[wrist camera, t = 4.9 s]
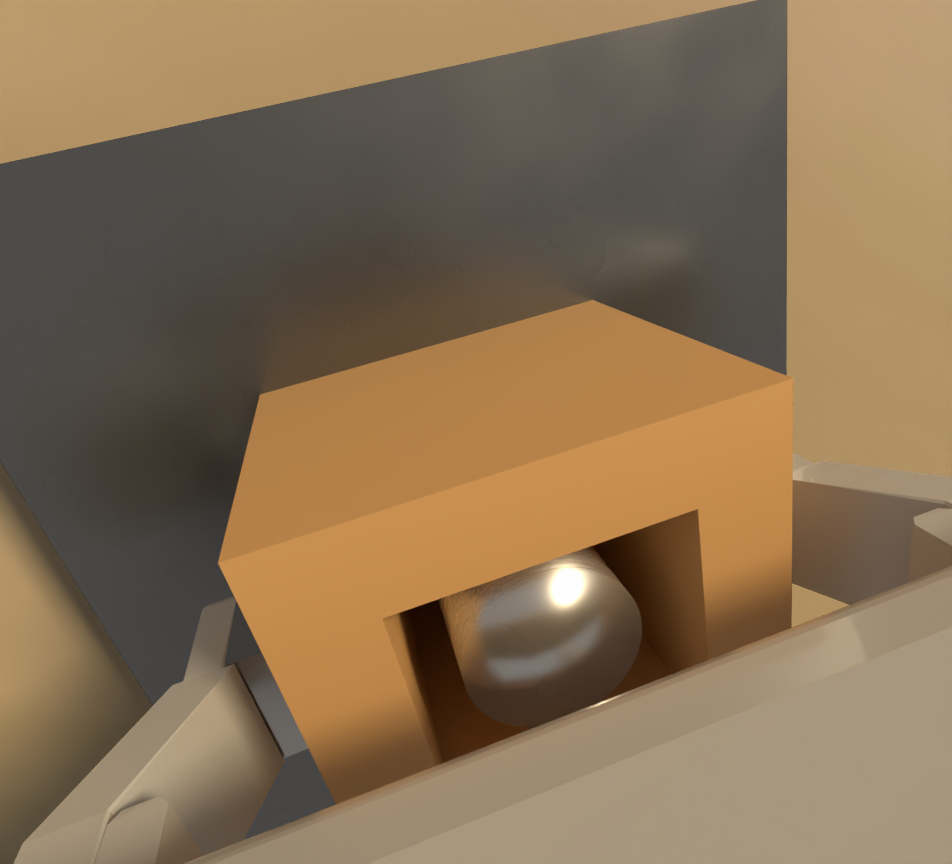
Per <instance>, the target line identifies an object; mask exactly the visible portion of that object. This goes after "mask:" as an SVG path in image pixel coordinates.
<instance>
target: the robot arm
mask: <svg viewBox="0 0 952 864" xmlns="http://www.w3.org/2000/svg"><path fill="white" fill-rule="evenodd" d="M792 583H793V584H796V585H799V586H801V587H804V588H807V589H809V590H812V591H815V592H817V593H820V594H822V595H825V596H828V597H830V598H833V599H836V600H838V601H841V602H844V603H846V604H849V606H846V607H844V608H841V609H839V610H836V611H834V612H831V613H828V614H826V615H823V616H821V617H818V618H815V619H813V620H810V621H808V622H805V623H803V624H800V625H797V626H795V627H792V628H790V629H787V630H784V631H782V632H779V633H777V634H774V635H772V636H769V637H766V638H764V639H761V640H759V641H756V642H753V643H751V644H748V645H746V646H743V647H741V648H738V649H735V650H733V651H730V652H728V653H725V654H722V655H720V656H717V657H715V658H712V659H710V660H707V661H704V662H702V663H699V664H697V665H694V666H692V667H689V668H686V669H684V670H681V671H679V672H676V673H674V674H671V675H668V676H666V677H663V678H661V679H658V680H656V681H653V682H650V683H648V684H645V685H643V686H640V687H638V688H635V689H633V690H630V691H627V692H625V693H622V694H620V695H617V696H615V697H612V698H609V699H607V700H604V701H602V702H599V703H597V704H594V705H591V706H589V707H586V708H584V709H581V710H579V711H576V712H574V713H571V714H568V715H566V716H563V717H561V718H558V719H555V720H553V721H550V722H548V723H545V724H543V725H540V726H537V727H535V728H532V729H530V730H527V731H524V732H522V733H519V734H517V735H514V736H512V737H509V738H506V739H504V740H501V741H499V742H496V743H494V744H491V745H488V746H486V747H483V748H481V749H478V750H475V751H473V752H470V753H468V754H465V755H463V756H460V757H457V758H455V759H452V760H450V761H447V762H444V763H442V764H439V765H437V766H434V767H432V768H429V769H426V770H424V771H421V772H419V773H416V774H413V775H411V776H408V777H406V778H403V779H401V780H398V781H395V782H393V783H390V784H388V785H385V786H383V787H380V788H377V789H375V790H372V791H370V792H367V793H364V794H362V795H359V796H357V797H354V798H352V799H349V800H346V801H344V802H341V803H339V804H336V805H333V806H331V807H328V808H326V809H323V810H321V811H318V812H315V813H313V814H310V815H308V816H305V817H303V818H300V819H297V820H295V821H292V822H290V823H287V824H284V825H282V826H279V827H277V828H274V829H272V830H269V831H266V832H264V833H261V834H259V835H256V836H253V837H251V838H248V839H246V840H244V838H245V837H246V835H247V833H248V831H249V829H250V827H251V825H252V823H253V821H254V819H255V817H256V816H257V814H258V812H259V810H260V808H261V806H262V804H263V802H264V800H265V798H266V796H267V794H268V793H269V791H270V789H271V787H272V785H273V783H274V781H275V779H276V777H277V775H278V773H279V772H280V770H281V768H282V766H283V764H284V762H285V761H284V759H283V758H286V757H288V756H291V755H293V754H296V753H298V752H301V751H303V750H306V749H308V746H307V744H306V742H305V740H304V738H303V736H302V734H301V732H300V730H299V728H298V726H297V724H296V722H295V720H294V717H293V715H292V713H291V711H290V709H289V707H288V705H287V703H286V701H285V699H284V697H283V695H282V693H281V691H280V689H279V687H278V685H277V683H276V681H275V679H274V677H273V675H272V673H271V670H270V668H269V666H268V664H267V662H266V660H265V658H264V656H263V654H262V652H261V650H260V648H259V646H258V644H257V642H256V640H255V638H254V636H253V634H252V632H251V630H250V628H249V626H248V623H247V621H246V619H245V617H244V615H243V613H242V611H241V609H240V607H239V605H238V603H237V601H236V599H235V597H234V596H232V597H229V598H226V599H223V600H220V601H217V602H214V603H212V604H209V605H207V606H206V607H204V608H203V610H202V612H201V616H200V620H199V623H198V627H197V631H196V635H195V638H194V642H193V646H192V650H191V653H190V657H189V661H188V665H187V668H186V672H185V676H184V680H183V682H180V683H177V684H174V685H172V686H171V687H170V688H169V689H168V690H167V691H166V692H165V694H164V695H163V696H162V697H161V698H160V699H159V700H158V701H157V702H156V703H155V704H154V705H153V706H152V707H151V708H150V709H149V710H148V712H147V713H146V714H145V715H144V716H143V717H142V718H141V719H140V720H139V721H138V722H137V723H136V724H135V725H134V726H133V727H132V728H131V729H130V731H129V732H128V733H127V734H126V735H125V736H124V737H123V738H122V739H121V740H120V741H119V742H118V743H117V744H116V745H115V746H114V747H113V748H112V750H111V751H110V752H109V753H108V754H107V755H106V756H105V757H104V758H103V759H102V760H101V761H100V762H99V763H98V764H97V765H96V766H95V767H94V769H93V770H92V771H91V772H90V773H89V774H88V775H87V776H86V777H85V778H84V779H83V780H82V781H81V782H80V783H79V784H78V785H77V786H76V788H75V789H74V790H73V791H72V792H71V793H70V794H69V795H68V796H67V797H66V798H65V799H64V800H63V801H62V802H61V803H60V804H59V806H58V807H57V808H56V809H55V810H54V811H53V812H52V813H51V814H50V815H49V816H48V817H47V818H46V819H45V820H44V821H43V822H42V823H41V825H40V826H39V827H38V828H37V829H36V830H35V831H34V832H33V833H32V834H31V835H30V836H29V837H28V838H27V839H26V840H25V841H24V842H23V844H22V846H21V848H20V850H19V852H18V855H17V857H16V859H15V861H14V864H952V477H950V476H942V475H934V474H926V473H918V472H910V471H902V470H894V469H886V468H878V467H870V466H862V465H854V464H846V463H838V462H830V461H820V462H817V463H812V462H810V461H809V460H807V459H805V458H803V457H801V456H799V455H797V454H796V453H794V452H793V490H792Z"/></svg>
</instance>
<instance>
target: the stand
mask: <svg viewBox="0 0 952 864" xmlns="http://www.w3.org/2000/svg"><path fill="white" fill-rule="evenodd" d="M591 300H594V301H596V302H599V303H602V304H604V305H607V306H609V307H612V308H614V309H617V310H620V311H622V312H625V313H627V314H630V315H632V316H635V317H637V318H640V319H643V320H645V321H648V322H650V323H653V324H655V325H658V326H661V327H663V328H666V329H668V330H671V331H673V332H676V333H678V334H681V335H684V336H686V337H689V338H691V339H694V340H696V341H699V342H702V343H704V344H707V345H709V346H712V347H714V348H717V349H719V350H722V351H725V352H727V353H730V354H732V355H735V356H737V357H740V358H742V359H745V360H748V361H750V362H753V363H755V364H758V365H760V366H763V367H766V368H768V369H771V370H773V371H776V372H778V373H781V374H783V375H786V301H787V0H757V1H752V2H747V3H743V4H738V5H734V6H729V7H724V8H720V9H715V10H710V11H706V12H701V13H697V14H692V15H687V16H683V17H678V18H673V19H669V20H664V21H660V22H655V23H650V24H646V25H641V26H636V27H632V28H627V29H623V30H618V31H613V32H609V33H604V34H599V35H595V36H590V37H586V38H581V39H576V40H572V41H567V42H562V43H558V44H553V45H549V46H544V47H539V48H535V49H530V50H525V51H521V52H516V53H512V54H507V55H502V56H498V57H493V58H488V59H484V60H479V61H475V62H470V63H465V64H461V65H456V66H451V67H447V68H442V69H438V70H433V71H428V72H424V73H419V74H414V75H410V76H405V77H401V78H396V79H391V80H387V81H382V82H377V83H373V84H368V85H364V86H359V87H354V88H350V89H345V90H340V91H336V92H331V93H327V94H322V95H317V96H313V97H308V98H303V99H299V100H294V101H290V102H285V103H280V104H276V105H271V106H266V107H262V108H257V109H253V110H248V111H243V112H239V113H234V114H229V115H225V116H220V117H216V118H211V119H206V120H202V121H197V122H192V123H188V124H183V125H179V126H174V127H169V128H165V129H160V130H155V131H151V132H146V133H142V134H137V135H132V136H128V137H123V138H118V139H114V140H109V141H105V142H100V143H95V144H91V145H86V146H81V147H77V148H72V149H68V150H63V151H58V152H54V153H49V154H44V155H40V156H35V157H31V158H26V159H21V160H17V161H12V162H7V163H3V164H0V461H1V463H2V465H3V466H4V468H5V469H6V471H7V473H8V474H9V476H10V477H11V479H12V481H13V482H14V484H15V485H16V487H17V489H18V490H19V492H20V493H21V495H22V497H23V498H24V500H25V501H26V503H27V505H28V506H29V508H30V510H31V511H32V513H33V514H34V516H35V518H36V519H37V521H38V522H39V524H40V526H41V527H42V529H43V530H44V532H45V534H46V535H47V537H48V538H49V540H50V542H51V543H52V545H53V546H54V548H55V550H56V551H57V553H58V554H59V556H60V558H61V559H62V561H63V563H64V564H65V566H66V567H67V569H68V571H69V572H70V574H71V575H72V577H73V579H74V580H75V582H76V583H77V585H78V587H79V588H80V590H81V591H82V593H83V595H84V596H85V598H86V599H87V601H88V603H89V604H90V606H91V607H92V609H93V611H94V612H95V614H96V616H97V617H98V619H99V620H100V622H101V624H102V625H103V627H104V628H105V630H106V632H107V633H108V635H109V636H110V638H111V640H112V641H113V643H114V644H115V646H116V648H117V649H118V651H119V652H120V654H121V656H122V657H123V659H124V660H125V662H126V664H127V665H128V667H129V668H130V670H131V672H132V673H133V675H134V677H135V678H136V680H137V681H138V683H139V685H140V686H141V688H142V689H143V691H144V693H145V694H146V696H147V697H148V699H149V701H150V702H151V704H152V705H154V704H155V703H156V702H157V701H158V700H159V699H160V698H161V697H162V696H163V695H164V694H165V692H166V691H167V690H168V689H169V688H170V687H171V686H172V685H174V684H177V683H180V682H183V680H184V676H185V672H186V668H187V665H188V661H189V657H190V653H191V650H192V646H193V642H194V638H195V635H196V631H197V627H198V623H199V620H200V616H201V612H202V610H203V608H204V607H206V606H207V605H209V604H212V603H214V602H217V601H220V600H223V599H226V598H229V597H232V596H234V595H233V593H232V591H231V589H230V587H229V585H228V583H227V581H226V579H225V576H224V574H223V572H222V570H221V568H220V566H219V564H218V561H219V557H220V553H221V549H222V545H223V541H224V537H225V533H226V529H227V525H228V521H229V517H230V513H231V509H232V505H233V501H234V497H235V493H236V489H237V485H238V481H239V477H240V473H241V469H242V465H243V460H244V456H245V452H246V448H247V444H248V440H249V436H250V432H251V428H252V424H253V420H254V416H255V412H256V408H257V404H258V400H259V396H260V394H264V393H267V392H271V391H274V390H278V389H281V388H285V387H288V386H292V385H295V384H299V383H303V382H306V381H310V380H313V379H317V378H320V377H324V376H327V375H331V374H334V373H338V372H341V371H345V370H348V369H352V368H355V367H359V366H362V365H366V364H369V363H373V362H376V361H380V360H383V359H387V358H390V357H394V356H398V355H401V354H405V353H408V352H412V351H415V350H419V349H422V348H426V347H429V346H433V345H436V344H440V343H443V342H447V341H450V340H454V339H457V338H461V337H464V336H468V335H471V334H475V333H478V332H482V331H485V330H489V329H493V328H496V327H500V326H503V325H507V324H510V323H514V322H517V321H521V320H524V319H528V318H531V317H535V316H538V315H542V314H545V313H549V312H552V311H556V310H559V309H563V308H566V307H570V306H573V305H577V304H580V303H584V302H588V301H591ZM438 601H439V604H440V608H441V611H442V614H443V617H444V621H445V624H446V627H447V630H448V633H449V637H450V640H451V643H452V646H453V650H454V653H455V656H456V659H457V662H458V666H459V669H460V672H461V675H462V679H463V682H464V685H465V688H466V690H467V693H468V695H469V697H470V699H471V700H472V702H473V703H474V704H475V705H476V706H477V708H478V709H479V710H480V711H482V712H483V713H484V714H486V715H487V716H489V717H490V718H492V719H494V720H496V721H499V722H502V723H504V724H509V725H513V726H522V727H537V726H540V725H543V724H545V723H548V722H550V721H553V720H555V719H558V718H561V717H563V716H566V715H568V714H571V713H574V712H576V711H579V710H581V709H584V708H586V707H589V706H591V705H594V704H597V703H599V702H600V701H602V700H603V699H604V698H605V697H606V696H608V695H609V694H610V693H611V692H612V691H613V690H614V689H615V688H616V687H617V686H618V685H619V683H620V682H621V681H622V680H623V679H624V677H625V676H626V674H627V673H628V671H629V670H630V668H631V666H632V665H633V663H634V661H635V659H636V656H637V653H638V651H639V647H640V643H641V637H642V620H641V616H640V612H639V609H638V607H637V604H636V602H635V601H634V599H633V598H632V596H631V595H630V593H629V592H628V591H627V590H626V588H625V587H624V586H623V585H622V583H621V582H620V581H619V580H618V578H617V577H616V576H615V574H614V573H613V572H612V571H611V569H610V568H609V567H608V566H607V564H606V563H605V562H604V561H603V559H602V558H601V557H600V555H599V554H598V553H597V552H596V550H595V549H594V548H593V547H592V546H590V547H587V548H584V549H581V550H578V551H576V552H573V553H570V554H567V555H564V556H561V557H558V558H555V559H553V560H550V561H547V562H544V563H541V564H538V565H535V566H532V567H530V568H527V569H524V570H521V571H518V572H515V573H512V574H509V575H507V576H504V577H501V578H498V579H495V580H492V581H489V582H486V583H484V584H481V585H478V586H475V587H472V588H469V589H466V590H463V591H460V592H458V593H455V594H452V595H449V596H446V597H443V598H440V599H438ZM283 759H284V761H285V762H284V764H283V766H282V768H281V770H280V772H279V773H278V775H277V777H276V779H275V781H274V783H273V785H272V787H271V789H270V791H269V793H268V794H267V796H266V798H265V800H264V802H263V804H262V806H261V808H260V810H259V812H258V814H257V816H256V817H255V819H254V821H253V823H252V825H251V827H250V829H249V831H248V833H247V835H246V837H245V838H244V840H246V839H248V838H251V837H253V836H256V835H259V834H261V833H264V832H266V831H269V830H272V829H274V828H277V827H279V826H282V825H284V824H287V823H290V822H292V821H295V820H297V819H300V818H303V817H305V816H308V815H310V814H313V813H315V812H318V811H321V810H323V809H326V808H328V807H331V806H333V805H336V803H335V801H334V799H333V797H332V795H331V793H330V791H329V789H328V787H327V785H326V783H325V781H324V779H323V777H322V775H321V773H320V771H319V769H318V767H317V764H316V762H315V760H314V758H313V756H312V754H311V752H310V750H309V748H308V749H306V750H303V751H301V752H298V753H296V754H293V755H291V756H288V757H286V758H283Z"/></svg>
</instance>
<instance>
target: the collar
mask: <svg viewBox="0 0 952 864" xmlns="http://www.w3.org/2000/svg"><path fill="white" fill-rule="evenodd" d="M792 490H793V378H791V377H789V376H786V375H783V374H781V373H778V372H776V371H773V370H771V369H768V368H766V367H763V366H760V365H758V364H755V363H753V362H750V361H748V360H745V359H742V358H740V357H737V356H735V355H732V354H730V353H727V352H725V351H722V350H719V349H717V348H714V347H712V346H709V345H707V344H704V343H702V342H699V341H696V340H694V339H691V338H689V337H686V336H684V335H681V334H678V333H676V332H673V331H671V330H668V329H666V328H663V327H661V326H658V325H655V324H653V323H650V322H648V321H645V320H643V319H640V318H637V317H635V316H632V315H630V314H627V313H625V312H622V311H620V310H617V309H614V308H612V307H609V306H607V305H604V304H602V303H599V302H596V301H594V300H591V301H588V302H584V303H580V304H577V305H573V306H570V307H566V308H563V309H559V310H556V311H552V312H549V313H545V314H542V315H538V316H535V317H531V318H528V319H524V320H521V321H517V322H514V323H510V324H507V325H503V326H500V327H496V328H493V329H489V330H485V331H482V332H478V333H475V334H471V335H468V336H464V337H461V338H457V339H454V340H450V341H447V342H443V343H440V344H436V345H433V346H429V347H426V348H422V349H419V350H415V351H412V352H408V353H405V354H401V355H398V356H394V357H390V358H387V359H383V360H380V361H376V362H373V363H369V364H366V365H362V366H359V367H355V368H352V369H348V370H345V371H341V372H338V373H334V374H331V375H327V376H324V377H320V378H317V379H313V380H310V381H306V382H303V383H299V384H295V385H292V386H288V387H285V388H281V389H278V390H274V391H271V392H267V393H264V394H260V396H259V400H258V404H257V408H256V412H255V416H254V420H253V424H252V428H251V432H250V436H249V440H248V444H247V448H246V452H245V456H244V460H243V465H242V469H241V473H240V477H239V481H238V485H237V489H236V493H235V497H234V501H233V505H232V509H231V513H230V517H229V521H228V525H227V529H226V533H225V537H224V541H223V545H222V549H221V553H220V557H219V561H218V564H219V566H220V568H221V570H222V572H223V574H224V576H225V579H226V581H227V583H228V585H229V587H230V589H231V591H232V593H233V595H234V597H235V599H236V601H237V603H238V605H239V607H240V609H241V611H242V613H243V615H244V617H245V619H246V621H247V623H248V626H249V628H250V630H251V632H252V634H253V636H254V638H255V640H256V642H257V644H258V646H259V648H260V650H261V652H262V654H263V656H264V658H265V660H266V662H267V664H268V666H269V668H270V670H271V673H272V675H273V677H274V679H275V681H276V683H277V685H278V687H279V689H280V691H281V693H282V695H283V697H284V699H285V701H286V703H287V705H288V707H289V709H290V711H291V713H292V715H293V717H294V720H295V722H296V724H297V726H298V728H299V730H300V732H301V734H302V736H303V738H304V740H305V742H306V744H307V746H308V748H309V750H310V752H311V754H312V756H313V758H314V760H315V762H316V764H317V767H318V769H319V771H320V773H321V775H322V777H323V779H324V781H325V783H326V785H327V787H328V789H329V791H330V793H331V795H332V797H333V799H334V801H335V803H336V804H339V803H341V802H344V801H346V800H349V799H352V798H354V797H357V796H359V795H362V794H364V793H367V792H370V791H372V790H375V789H377V788H380V787H383V786H385V785H388V784H390V783H393V782H395V781H398V780H401V779H403V778H406V777H408V776H411V775H413V774H416V773H419V772H421V771H424V770H426V769H429V768H432V767H434V766H437V765H439V764H442V763H444V762H447V761H450V760H452V759H455V758H457V757H460V756H463V755H465V754H468V753H470V752H473V751H475V750H478V749H481V748H483V747H486V746H488V745H491V744H494V743H496V742H499V741H501V740H504V739H506V738H509V737H512V736H514V735H517V734H519V733H522V732H524V731H527V730H530V729H532V728H535V727H522V726H513V725H509V724H504V723H502V722H499V721H496V720H494V719H492V718H490V717H489V716H487V715H486V714H484V713H483V712H482V711H480V710H479V709H478V708H477V706H476V705H475V704H474V703H473V702H472V700H471V699H470V697H469V695H468V693H467V690H466V688H465V685H464V682H463V679H462V675H461V672H460V669H459V666H458V662H457V659H456V656H455V653H454V650H453V646H452V643H451V640H450V637H449V633H448V630H447V627H446V624H445V621H444V617H443V614H442V611H441V608H440V604H439V601H438V599H440V598H443V597H446V596H449V595H452V594H455V593H458V592H460V591H463V590H466V589H469V588H472V587H475V586H478V585H481V584H484V583H486V582H489V581H492V580H495V579H498V578H501V577H504V576H507V575H509V574H512V573H515V572H518V571H521V570H524V569H527V568H530V567H532V566H535V565H538V564H541V563H544V562H547V561H550V560H553V559H555V558H558V557H561V556H564V555H567V554H570V553H573V552H576V551H578V550H581V549H584V548H587V547H590V546H592V547H593V548H594V549H595V550H596V552H597V553H598V554H599V555H600V557H601V558H602V559H603V561H604V562H605V563H606V564H607V566H608V567H609V568H610V569H611V571H612V572H613V573H614V574H615V576H616V577H617V578H618V580H619V581H620V582H621V583H622V585H623V586H624V587H625V588H626V590H627V591H628V592H629V593H630V595H631V596H632V598H633V599H634V601H635V602H636V604H637V607H638V609H639V612H640V616H641V620H642V637H641V643H640V647H639V651H638V653H637V656H636V659H635V661H634V663H633V665H632V666H631V668H630V670H629V671H628V673H627V674H626V676H625V677H624V679H623V680H622V681H621V682H620V683H619V685H618V686H617V687H616V688H615V689H614V690H613V691H612V692H611V693H610V694H609V695H608V696H606V697H605V698H604V699H603V700H602V701H604V700H607V699H609V698H612V697H615V696H617V695H620V694H622V693H625V692H627V691H630V690H633V689H635V688H638V687H640V686H643V685H645V684H648V683H650V682H653V681H656V680H658V679H661V678H663V677H666V676H668V675H671V674H674V673H676V672H679V671H681V670H684V669H686V668H689V667H692V666H694V665H697V664H699V663H702V662H704V661H707V660H710V659H712V658H715V657H717V656H720V655H722V654H725V653H728V652H730V651H733V650H735V649H738V648H741V647H743V646H746V645H748V644H751V643H753V642H756V641H759V640H761V639H764V638H766V637H769V636H772V635H774V634H777V633H779V632H782V631H784V630H787V629H790V628H791V614H792ZM602 701H600V702H602Z"/></svg>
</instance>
